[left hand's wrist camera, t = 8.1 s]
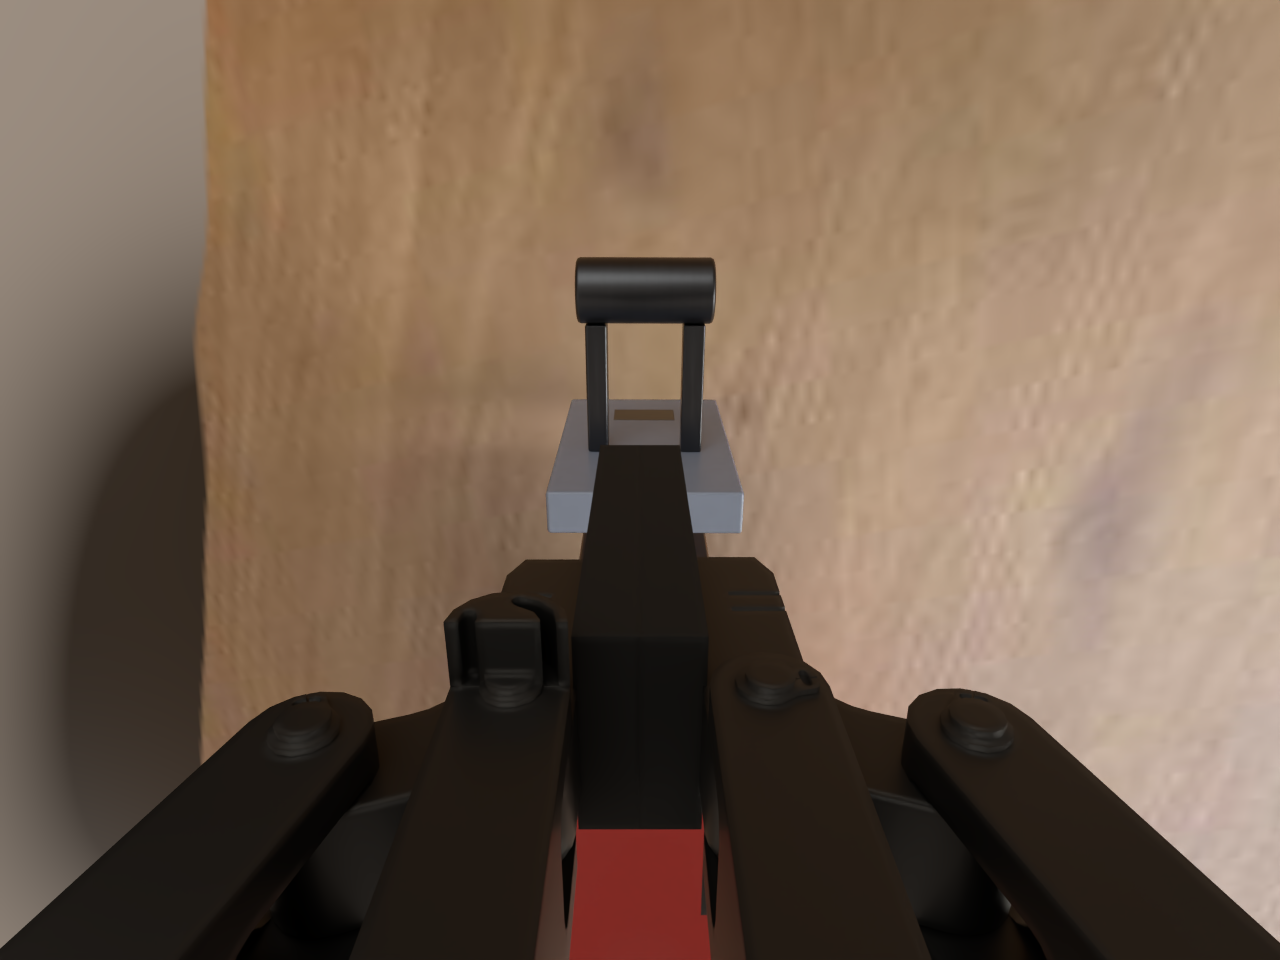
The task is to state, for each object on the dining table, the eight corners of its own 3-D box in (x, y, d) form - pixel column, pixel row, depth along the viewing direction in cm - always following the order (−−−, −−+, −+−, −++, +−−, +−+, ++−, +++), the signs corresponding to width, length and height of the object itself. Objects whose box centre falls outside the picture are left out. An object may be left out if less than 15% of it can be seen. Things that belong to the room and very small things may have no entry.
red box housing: (566, 625, 32) (537, 814, 23) (718, 626, 32) (749, 815, 23) (579, 935, 40) (561, 1171, 30) (702, 935, 40) (721, 1171, 30)
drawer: (566, 238, 25) (534, 274, 18) (723, 238, 25) (757, 275, 18) (584, 781, 34) (568, 957, 27) (699, 782, 34) (715, 957, 27)
